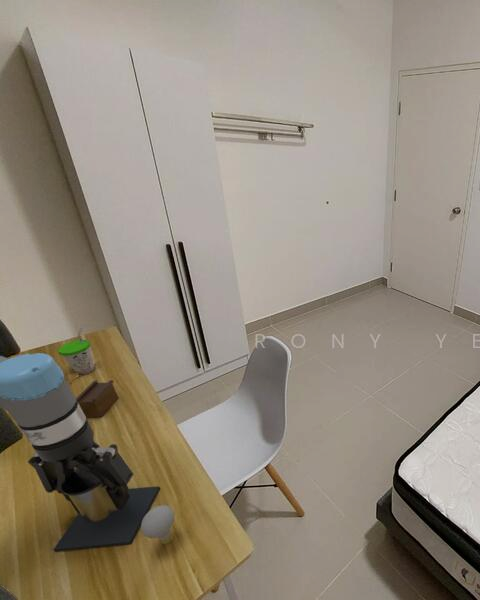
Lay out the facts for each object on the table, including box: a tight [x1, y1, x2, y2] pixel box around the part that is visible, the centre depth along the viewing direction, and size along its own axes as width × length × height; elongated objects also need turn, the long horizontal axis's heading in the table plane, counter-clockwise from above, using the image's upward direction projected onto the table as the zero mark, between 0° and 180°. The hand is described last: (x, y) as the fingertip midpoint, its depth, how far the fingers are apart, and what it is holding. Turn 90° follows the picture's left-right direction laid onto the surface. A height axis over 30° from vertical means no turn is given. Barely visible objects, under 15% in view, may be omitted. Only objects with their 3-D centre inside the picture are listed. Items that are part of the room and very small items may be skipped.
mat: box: [52, 485, 161, 553], centre depth 72 cm, size 14×12×1 cm
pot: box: [61, 468, 118, 522], centre depth 68 cm, size 8×10×8 cm
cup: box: [57, 327, 95, 376], centre depth 109 cm, size 8×8×15 cm
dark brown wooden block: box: [75, 379, 119, 419], centre depth 97 cm, size 5×8×7 cm, turn 8°
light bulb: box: [140, 504, 175, 545], centre depth 67 cm, size 5×6×10 cm
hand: (104, 504), depth 70 cm, fingers closed on pot, 7 cm apart
